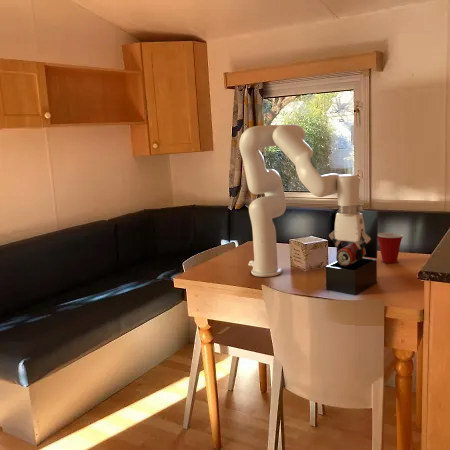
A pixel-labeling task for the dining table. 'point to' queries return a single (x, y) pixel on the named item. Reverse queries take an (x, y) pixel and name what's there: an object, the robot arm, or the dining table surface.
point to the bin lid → (370, 232)
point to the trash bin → (351, 276)
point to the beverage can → (348, 255)
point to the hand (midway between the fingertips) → (349, 257)
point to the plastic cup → (389, 246)
